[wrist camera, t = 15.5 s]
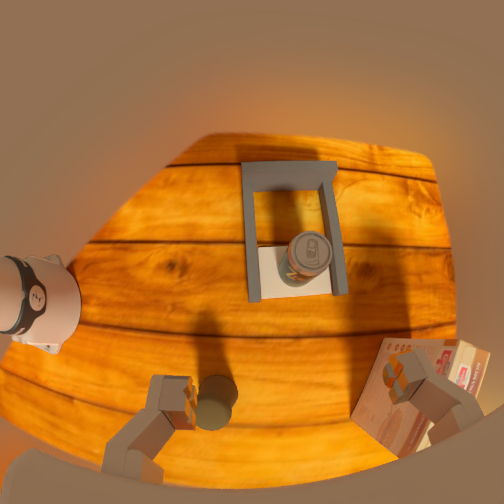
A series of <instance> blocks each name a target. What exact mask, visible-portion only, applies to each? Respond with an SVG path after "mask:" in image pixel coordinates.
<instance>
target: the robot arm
mask: <svg viewBox="0 0 504 504" xmlns="http://www.w3.org/2000/svg"><path fill="white" fill-rule="evenodd" d="M80 312H81V298H80V292H79V288H78V285H77V283H76V281H75V279H74V278H73V276H72V275H71V274H70V273H69V272H68V271H67V270H66V269H65V268H64V266H63V264H62V261H61V259H60V257H59V256H58V255H51V256H48V257H45V258H39V257H36V256H32V255H31V256H30V257H28V258H25V259H23V260H21V259H19V258H16V257H11V256H1V255H0V333H2V334H7V335H12V340H13V341H16V342H21V343H23V344H31V345H34V346H36V347H38V348H40V349H42V350H44V351H46V352H49V353H51V354H58V353H59V351H60V349H61V347H62V344H63V343H64V342H65V341H66V340H67V339H68V338H69V337H70V336H71V335H72V334H73V332H74V331H75V329H76V327H77V325H78V322H79V318H80ZM49 345H50V347H49ZM388 361H389V363H388V364H386V365H385V367H384V369H383V375H382V377H383V381H384V384H385V386H387V387H388V388H390V389H389V393H388V394H389V396H390V399H391V401H392V404H393V405H396V404H399V403H403V402H406V401H409V402H410V403H411V404H412V405H413V406H414V407H415V408H416V409H418V410H419V411H420V412H421V413H422V414H423V415H425V416H426V417H427V418H428V419H429V420H430V421H431V422H433V423H434V424H435V425H434V426H433V427H432V428H431V429H429V430H428V432H427V435H428V438H429V440H430V443H431V446H429V447H427V448H425V449H423V450H420V451H418V452H416V453H413V454H411V455H408V456H406V457H403V458H400V459H398V460H395V461H392V462H389V463H386V464H383V465H380V466H377V467H374V468H371V469H367V470H364V471H360V472H356V473H353V474H349V475H345V476H340V477H336V478H331V479H327V480H321V481H316V482H310V483H304V484H297V485H289V486H281V487H270V488H255V489H204V488H189V487H179V486H170V485H162V484H163V469H162V468H161V467H160V466H159V465H157V464H156V463H155V462H154V461H152V460H153V459H154V458H155V456H156V455H157V454H158V453H159V451H160V450H161V449H162V447H163V446H164V445H165V443H166V442H167V441H168V440H169V438H170V437H171V436H172V434H173V433H174V432H175V429H176V430H195V426H196V415H195V413H194V410H195V408H196V407H197V392H196V388H195V386H193V385H192V382H193V380H192V378H191V376H172V375H153V376H152V378H151V382H150V387H149V391H148V396H147V401H146V406H145V409H141V410H140V411H139V412H138V413H137V414H136V415H135V416H134V417H133V418H132V419H131V420H130V421H129V422H128V423H127V424H126V425H125V426H124V427H123V428H122V429H121V430H120V431H119V432H118V433H117V434H116V435H115V436H114V437H113V438H112V439H111V440H110V441H109V442H108V443H107V444H106V449H105V454H104V459H103V464H102V469H101V472H100V471H97V470H93V469H90V468H87V467H84V466H80V465H78V464H75V463H71V462H69V461H66V460H63V459H61V458H58V457H56V456H53V455H51V454H48V453H46V452H44V451H42V450H39V449H36V448H31V449H29V450H27V451H25V452H24V453H23V454H21V455H20V456H19V457H17V458H16V459H15V460H13V461H12V462H11V464H10V465H9V467H8V469H7V472H6V475H5V478H4V482H3V486H2V490H1V495H0V504H504V404H503V405H501V406H500V407H499V408H497V409H496V410H494V411H493V412H491V413H490V414H488V415H487V416H485V417H484V415H483V413H482V411H481V409H480V406H479V404H478V403H477V400H476V398H475V397H474V395H472V394H471V393H469V392H468V391H466V390H465V389H463V388H461V387H460V386H458V385H457V384H455V383H454V382H452V381H450V380H449V379H447V378H446V377H444V376H443V375H441V374H440V373H439V374H437V373H436V371H435V369H434V368H433V366H432V364H431V362H430V360H429V358H428V357H427V355H426V353H425V351H424V350H423V349H422V348H421V347H418V348H414V349H411V350H406V351H403V352H399V353H395V354H392V355H390V357H389V359H388Z"/></svg>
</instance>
